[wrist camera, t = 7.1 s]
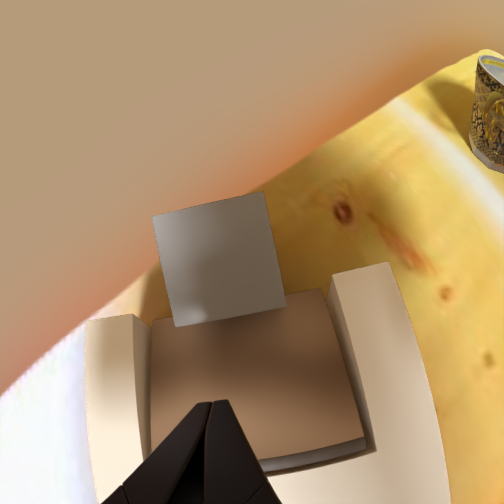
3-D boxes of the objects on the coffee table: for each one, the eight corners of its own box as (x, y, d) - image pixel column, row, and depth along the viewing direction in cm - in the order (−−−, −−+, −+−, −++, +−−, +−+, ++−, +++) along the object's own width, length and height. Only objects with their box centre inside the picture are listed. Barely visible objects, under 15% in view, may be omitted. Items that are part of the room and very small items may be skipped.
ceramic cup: (479, 118, 29) (499, 53, 20) (536, 170, 23) (569, 106, 15) (423, 144, 27) (445, 59, 18) (494, 212, 22) (541, 130, 13)
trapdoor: (364, 450, 11) (367, 448, 10) (160, 479, 11) (153, 477, 10) (320, 296, 17) (320, 287, 16) (158, 327, 17) (152, 319, 16)
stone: (263, 191, 13) (261, 211, 21) (151, 216, 13) (190, 227, 21) (287, 306, 13) (276, 284, 21) (175, 327, 13) (205, 298, 21)
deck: (412, 507, 12) (453, 532, 7) (161, 544, 12) (116, 574, 7) (365, 305, 20) (388, 261, 14) (134, 349, 20) (85, 320, 15)
